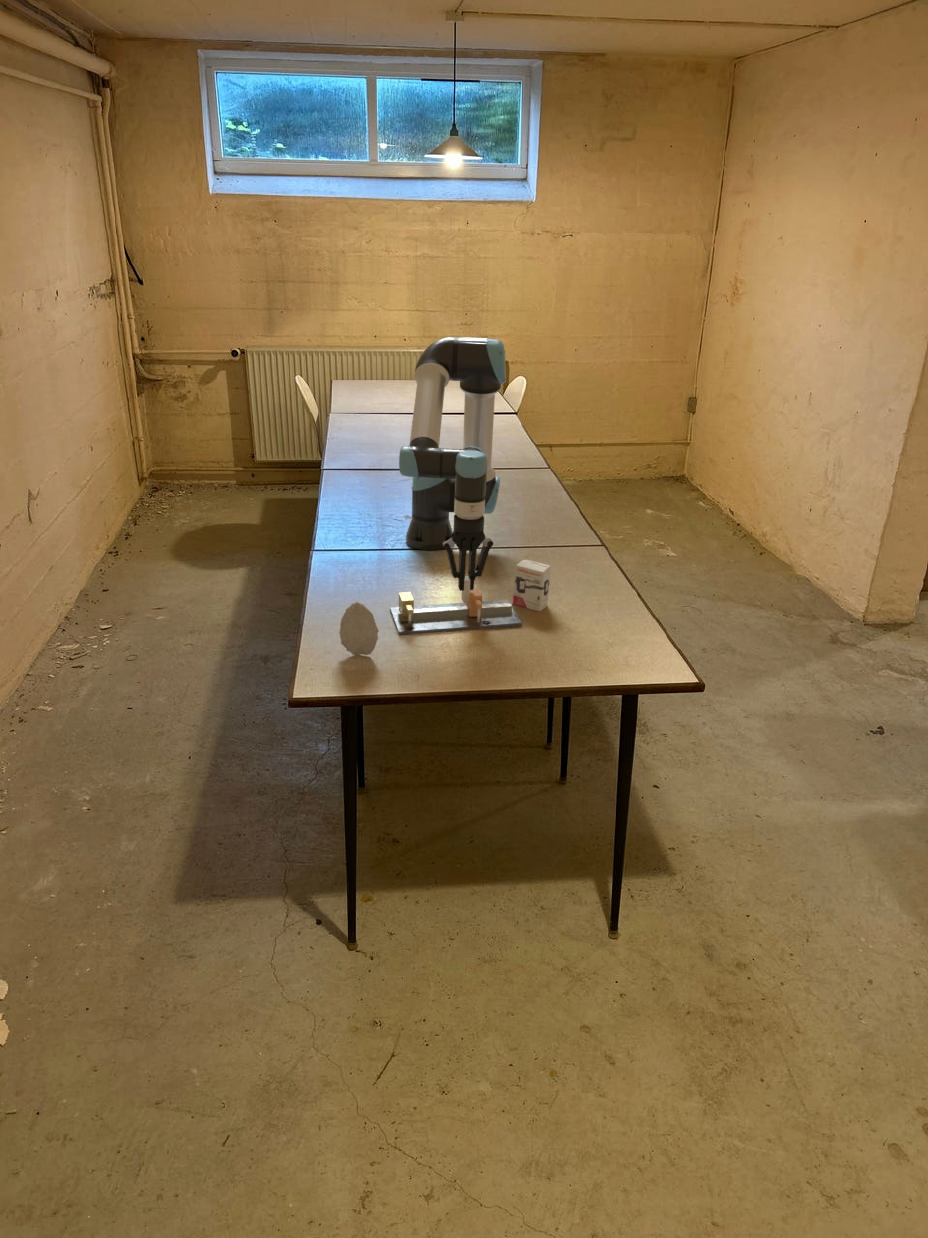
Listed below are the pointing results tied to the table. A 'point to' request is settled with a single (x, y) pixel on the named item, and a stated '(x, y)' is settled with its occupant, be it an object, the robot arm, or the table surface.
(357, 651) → the stone tool
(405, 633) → the hole plate
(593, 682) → the table surface
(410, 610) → the rail
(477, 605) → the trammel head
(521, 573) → the ink box
